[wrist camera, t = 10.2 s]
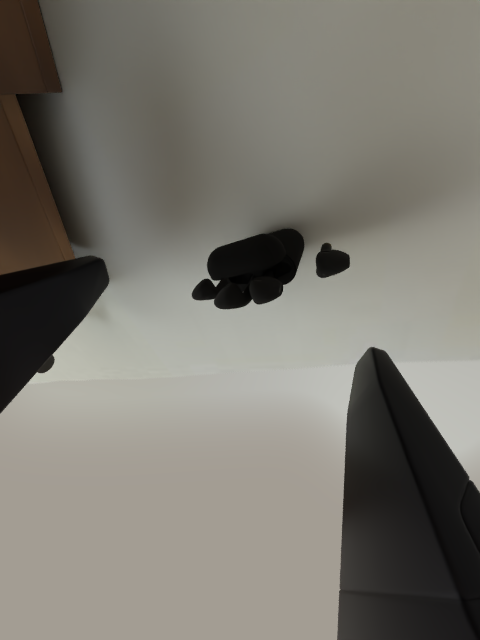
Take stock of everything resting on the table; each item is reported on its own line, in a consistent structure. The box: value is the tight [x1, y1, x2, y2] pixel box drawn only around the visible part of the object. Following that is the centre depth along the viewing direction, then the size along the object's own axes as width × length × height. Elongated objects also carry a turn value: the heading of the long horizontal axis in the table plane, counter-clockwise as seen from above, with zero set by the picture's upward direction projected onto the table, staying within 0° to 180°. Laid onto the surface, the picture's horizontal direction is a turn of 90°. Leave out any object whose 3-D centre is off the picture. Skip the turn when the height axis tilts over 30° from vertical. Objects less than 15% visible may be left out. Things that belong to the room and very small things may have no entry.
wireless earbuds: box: [192, 229, 350, 309], centre depth 11 cm, size 7×2×5 cm, turn 115°
